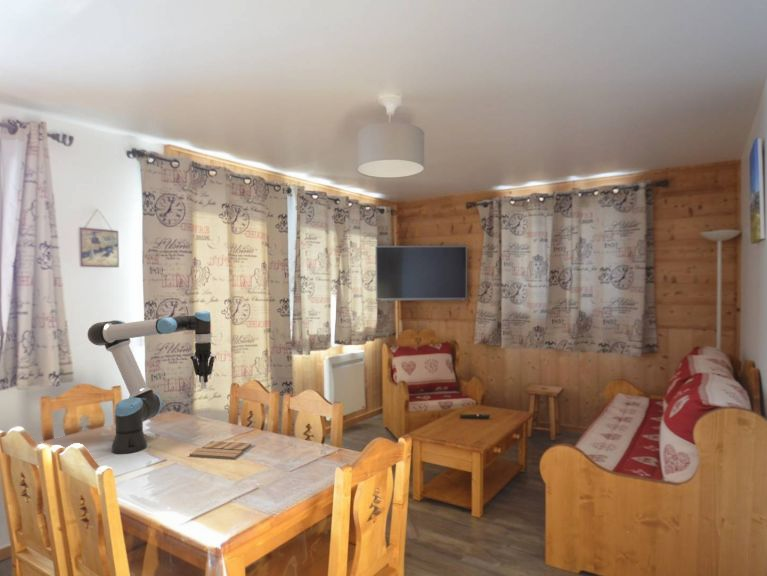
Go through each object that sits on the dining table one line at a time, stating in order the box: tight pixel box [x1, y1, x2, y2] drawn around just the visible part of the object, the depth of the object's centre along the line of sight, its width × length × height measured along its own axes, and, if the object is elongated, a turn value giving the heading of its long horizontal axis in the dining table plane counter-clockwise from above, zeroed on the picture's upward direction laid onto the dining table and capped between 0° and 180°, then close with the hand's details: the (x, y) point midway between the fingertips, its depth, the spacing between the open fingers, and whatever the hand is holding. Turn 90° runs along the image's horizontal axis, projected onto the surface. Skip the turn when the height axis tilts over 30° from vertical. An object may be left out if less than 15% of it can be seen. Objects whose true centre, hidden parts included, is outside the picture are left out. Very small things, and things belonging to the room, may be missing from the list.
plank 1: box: [201, 440, 232, 449], centre depth 232 cm, size 10×9×1 cm
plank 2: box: [222, 441, 252, 451], centre depth 230 cm, size 10×9×1 cm
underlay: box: [186, 444, 257, 461], centre depth 227 cm, size 24×20×2 cm
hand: (203, 388), depth 244 cm, fingers closed
